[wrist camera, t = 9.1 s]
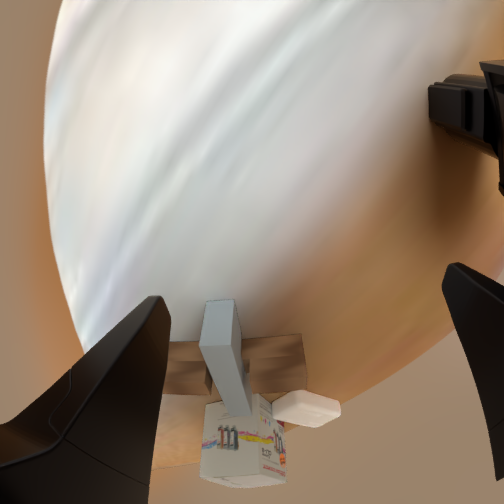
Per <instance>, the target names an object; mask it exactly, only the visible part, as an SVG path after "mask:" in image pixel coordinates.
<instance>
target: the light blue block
mask: <svg viewBox="0 0 504 504" xmlns="http://www.w3.org/2000/svg"><path fill="white" fill-rule="evenodd" d="M241 337H242V333H241V329H240V324H239V320H238V315H237V311H236V306H235V301H234V299H232V300H219V301H207V303H206V308H205V314H204V319H203V325H202V331H201V336H200V342H199V348H200V350H201V353H202V355H203V357H204V360H205V362H206V364H207V367H208V369H209V371H210V374H211V376H212V378H213V381H214V383H215V385H216V387H217V390H218V392H219V394H220V396H221V398H222V400H223V403H224V405H225V407H226V409H227V411H228V413H229V415H230V416H252V389H251V385H250V382H249V376H250V373H246V372H245V368H244V364H243V361H242V357H241Z"/></svg>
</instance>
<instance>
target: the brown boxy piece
mask: <svg viewBox="0 0 504 504" xmlns="http://www.w3.org/2000/svg"><path fill="white" fill-rule="evenodd" d="M199 342H200V341H193V342H169V352H168V364H167V371H166V376H165V382H164V387H163V393H162V394H180V395H211V387H212V376H211V374H210V371H209V369H208V367H207V364H206V362H205V360H204V357H203V355H202V353H201V350H200V348H199ZM241 357H242V361H243V364H244V368H245V372H246V373H250V376H249V382H250V385H251V389H252V393H253V394H262V393H275V392H286V391H296V390H305V389H307V378H308V375H307V369H306V362H305V356H304V349H303V343H302V337H301V334H296V335H286V336H276V337H265V338H252V339H241Z"/></svg>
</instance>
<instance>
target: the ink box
mask: <svg viewBox="0 0 504 504" xmlns="http://www.w3.org/2000/svg"><path fill="white" fill-rule="evenodd" d="M199 477H200V478H202V479H205V480H208V481H212V482H215V483H218V484H221V485H225V486H229V487H232V488H240V487H241V488H253V487H261V486H268V485H275V484H281V483H286V482H287V472H286V455H285V435H284V421H280V420H276V419H274V418H273V417H272V404H271V403H269V402H268V401H267V400H266V399H264V398H263V397H262V396H261V395H260V394H252V416H230V415H229V413H228V411H227V409H226V407H225V405H224V403H223V401H220V402H215V403H211V404H206V407H205V418H204V428H203V439H202V450H201V461H200V473H199Z"/></svg>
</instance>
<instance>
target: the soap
mask: <svg viewBox="0 0 504 504" xmlns="http://www.w3.org/2000/svg"><path fill="white" fill-rule="evenodd" d="M340 416H341V409H340V404H339V401H338V400H334V399H331V398H328V397H324V396H321V395H318V394H315V393H312V392H308V391H305V390H296V391H291V392H289V393H287V394H286V395H284V396H282V397H280V398H279V399H277V400H275V401H273V402H272V417H273V418H274V419H276V420H280V421H284V422H288V423H293V424H297V425H302V426H307V427H312V428H317V427H320V426H322V425H324V424H325V423H327V422H329V421H331V420H333V419H335V418H338V417H340Z"/></svg>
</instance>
